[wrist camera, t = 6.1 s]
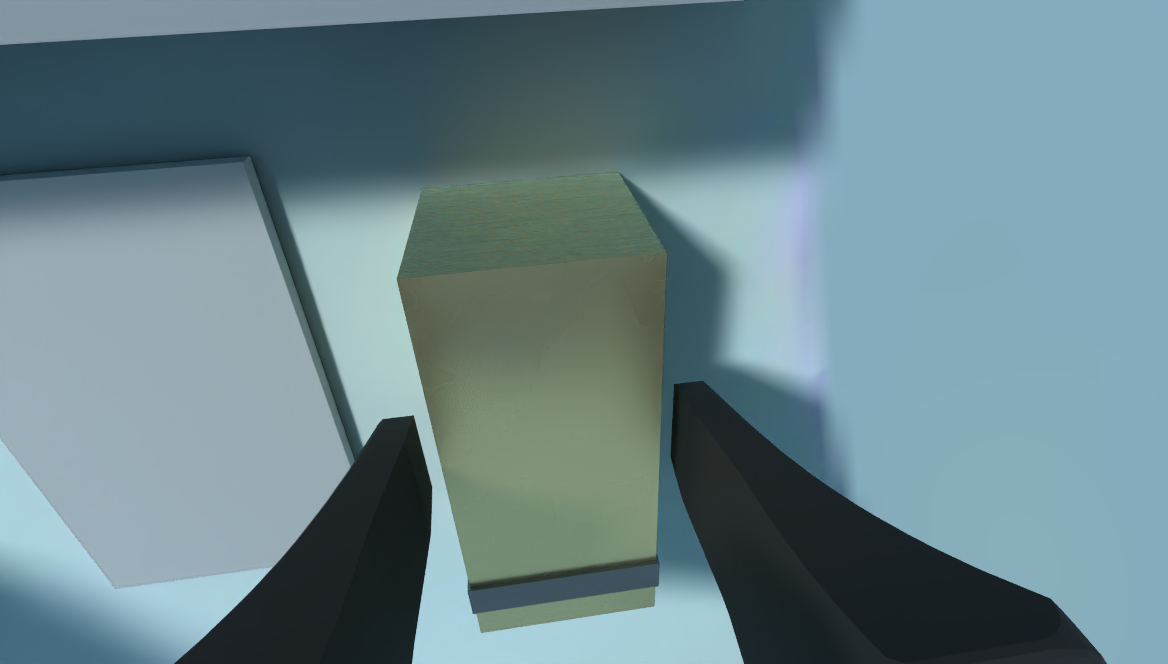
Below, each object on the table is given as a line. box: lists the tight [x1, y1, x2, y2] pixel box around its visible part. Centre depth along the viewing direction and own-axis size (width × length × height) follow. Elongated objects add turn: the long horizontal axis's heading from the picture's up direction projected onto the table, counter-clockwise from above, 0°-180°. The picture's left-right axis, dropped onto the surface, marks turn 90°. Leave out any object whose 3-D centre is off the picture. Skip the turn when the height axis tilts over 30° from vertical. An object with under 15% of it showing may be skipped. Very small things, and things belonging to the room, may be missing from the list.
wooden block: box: [397, 172, 667, 633], centre depth 13 cm, size 9×4×4 cm, turn 2°
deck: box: [0, 156, 355, 589], centre depth 14 cm, size 11×7×1 cm, turn 2°
